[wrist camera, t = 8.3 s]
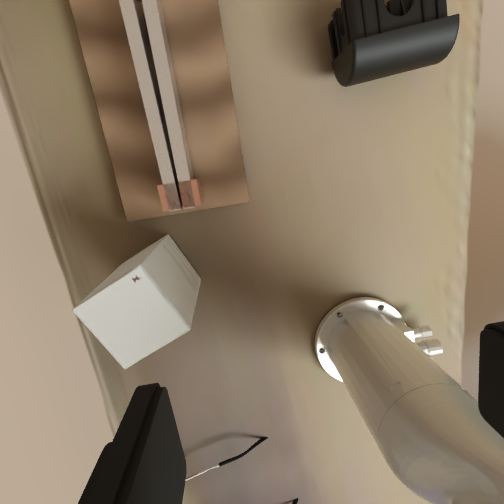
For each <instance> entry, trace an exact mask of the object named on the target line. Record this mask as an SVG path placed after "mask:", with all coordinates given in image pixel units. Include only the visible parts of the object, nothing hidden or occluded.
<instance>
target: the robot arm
mask: <svg viewBox="0 0 504 504" xmlns="http://www.w3.org/2000/svg"><path fill="white" fill-rule="evenodd" d="M338 312H339V313H338ZM429 336H432V330H431V328H430V327H429V326H421V327H417V328H413V329H411V328H410V327H407V325H406V323H405V321H404V318H403V317H402V316H401V314H400V313H399V312H398V311H397V310H396V309H395V308H394V307H393V306H391V305H390V304H388V303H387V302H385V301H383V300H380V299H377V298H372V297H359V298H353V299H350V300H347V301H344V302H342V303H341V304H339V305H337V306H336V307H334V308H333V309H332V310H331V311H329V312H328V314H327V315H326V316H325V317H324V318H323V320H322V321H321V323H320V325H319V326H318V329H317V332H316V335H315V352H316V355H317V358H318V360H319V362H320V365H321V366H322V367H323V369H324V370H325V371H326V372H327V373H328V374H329V375H330V376H332V377H333V378H335V379H337V380H339V381H342V382H344V384H345V386H346V388H347V390H348V392H349V393H350V395H351V397H352V399H353V401H354V403H355V404H356V406H357V408H358V410H359V412H360V414H361V415H362V417H363V419H364V421H365V423H366V425H367V426H368V428H369V430H370V432H371V434H372V436H373V437H374V439H375V441H376V443H377V445H378V447H379V448H380V450H381V452H382V454H383V456H384V458H385V460H386V462H387V463H388V465H389V467H390V468H391V470H392V471H393V473H394V474H395V475H396V476H397V478H398V479H399V480H400V481H401V482H402V483H403V484H404V485H405V486H406V487H407V488H409V489H410V490H411V491H412V492H414V493H415V494H417V495H418V496H420V497H421V498H423V499H424V500H426V501H428V502H430V503H432V504H504V321H503V322H497V323H492V324H488V325H486V326H485V328H484V330H483V331H482V332H481V334H480V357H479V393H478V394H479V395H478V401H477V400H476V399H475V398H474V397H473V396H472V395H471V394H470V393H469V392H468V391H467V390H466V389H464V388H463V387H462V386H461V385H460V384H459V383H458V382H457V381H456V380H455V379H454V378H453V377H451V376H450V375H449V374H448V373H447V372H446V371H445V370H444V369H443V368H442V367H441V366H440V365H438V364H437V363H436V362H435V361H434V360H433V359H432V358H431V357H430V356H432V355H438V354H441V353H442V351H443V349H442V345H441V343H440V342H439V341H438V340H437V339H432V340H426V341H422V342H419V343H415V342H414V340H415V338H424V337H429ZM185 480H186V460H185V456H184V452H183V449H182V445H181V441H180V437H179V433H178V429H177V426H176V422H175V418H174V414H173V410H172V407H171V403H170V399H169V395H168V391H167V389H166V387H160V385H159V383H153V384H148V385H142V386H138V387H137V388H136V389H135V392H134V394H133V396H132V399H131V401H130V403H129V405H128V408H127V410H126V412H125V414H124V417H123V419H122V421H121V423H120V426H119V428H118V430H117V432H116V435H115V437H114V439H113V442H110V443H108V444H107V445H106V446H105V447H104V449H103V451H102V453H101V455H100V457H99V459H98V461H97V463H96V466H95V468H94V470H93V472H92V475H91V476H90V478H89V481H88V483H87V485H86V487H85V489H84V491H83V494H82V496H81V498H80V500H79V502H78V504H182V500H183V493H184V486H185Z"/></svg>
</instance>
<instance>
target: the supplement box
mask: <svg viewBox="0 0 504 504" xmlns="http://www.w3.org/2000/svg"><path fill="white" fill-rule="evenodd" d="M200 284H201V278H200V277H199V275H198V274H197V273H196V271H195V270H194V268H193V267H192V266H191V264H190V263H189V262H188V260H187V259H186V258H185V256H184V255H183V253H182V252H181V251H180V249H179V248H178V247H177V245H176V244H175V243H174V241H173V240H172V238H171V237H170V236H169V234H167V235H166V236H164V237H162V238H161V239H159V240H158V241H156V242H155V243H153V244H151V245H150V246H148V247H147V248H145V249H143V250H142V251H140V252H139V253H137V254H136V255H134V256H133V257H131V258H130V259H128V260H127V261H125V262H124V263H122V264H121V265H120V266H119V267H118V268H117V269H116V270H115V271H113V272H112V273H111V274H110V275H109V276H108V277H107V278H106V279H105V280H104V281H103V282H102V283H100V284H99V285H98V286H97V287H96V288H95V289H94V290H93V291H92V292H91V293H89V294H88V295H87V296H86V297H85V298H84V299H83V300H82V301H81V302H80V303H79V304H78V305H77V306H75V307H74V308H73V310H72V311H73V312H74V313H75V314H76V316H77V317H78V318H79V319H80V320H81V321H82V322H83V323H84V324H85V325H86V327H87V328H88V329H89V330H90V331H91V332H92V333H93V334H94V336H95V337H96V338H97V339H98V340H99V341H100V342H101V343H102V345H103V346H104V347H105V348H106V349H107V350H108V351H109V352H110V353H111V355H112V356H113V357H114V358H115V359H116V360H117V361H118V363H119V364H120V365H121V366H122V367H123V368H124V369H127V368H128V367H130V366H131V365H133V364H135V363H136V362H138V361H139V360H141V359H143V358H144V357H146V356H148V355H149V354H151V353H153V352H154V351H156V350H158V349H159V348H161V347H163V346H164V345H166V344H168V343H170V342H171V341H173V340H175V339H177V338H178V337H180V336H182V335H183V334H185V333H187V332H189V331H190V330H191V325H192V320H193V315H194V311H195V306H196V302H197V298H198V293H199V289H200Z"/></svg>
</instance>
